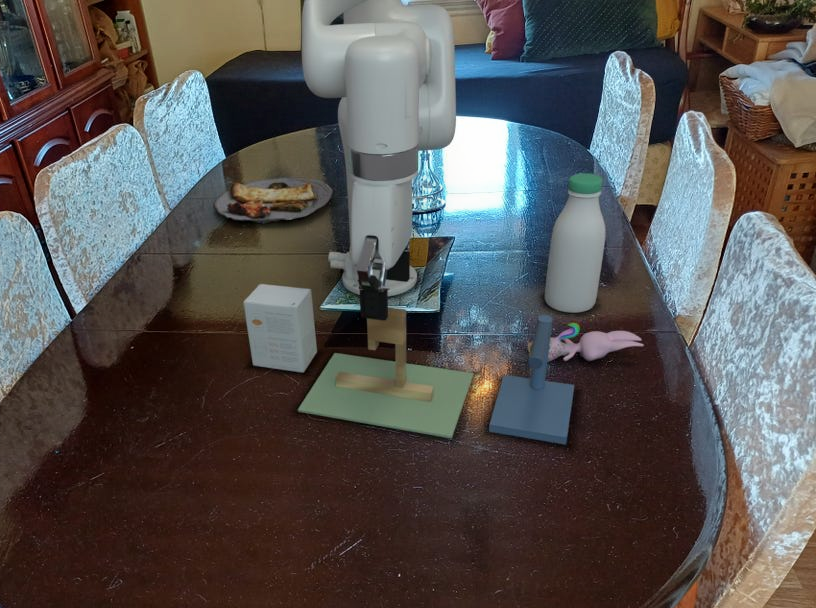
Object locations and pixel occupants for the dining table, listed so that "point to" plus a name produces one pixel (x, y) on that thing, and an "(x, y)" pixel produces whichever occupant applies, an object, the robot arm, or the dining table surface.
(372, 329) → the hanger
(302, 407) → the mat
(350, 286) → the robot arm
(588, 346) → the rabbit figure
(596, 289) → the milk bottle
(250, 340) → the small box
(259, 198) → the food plate
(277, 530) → the dining table surface
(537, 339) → the rail stand
